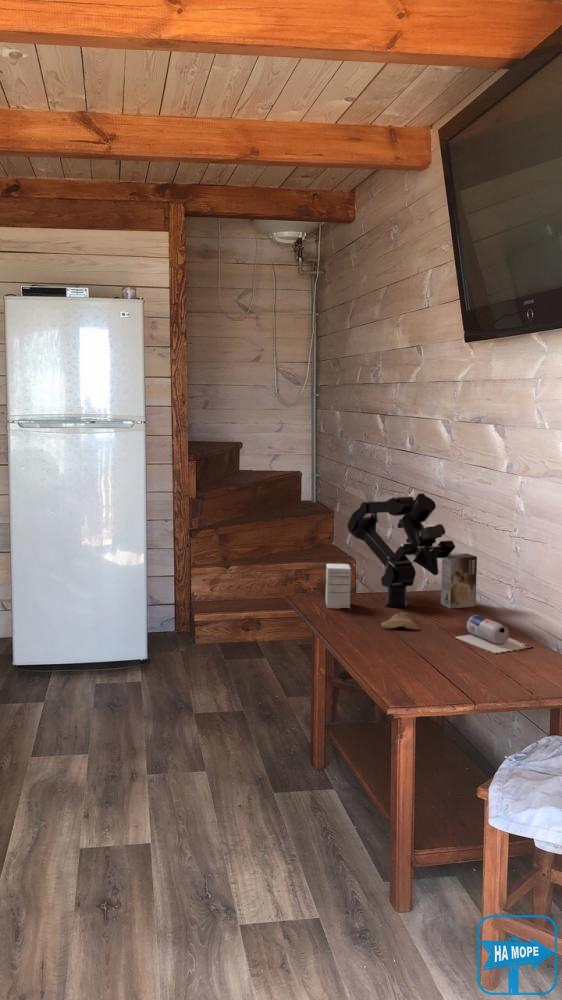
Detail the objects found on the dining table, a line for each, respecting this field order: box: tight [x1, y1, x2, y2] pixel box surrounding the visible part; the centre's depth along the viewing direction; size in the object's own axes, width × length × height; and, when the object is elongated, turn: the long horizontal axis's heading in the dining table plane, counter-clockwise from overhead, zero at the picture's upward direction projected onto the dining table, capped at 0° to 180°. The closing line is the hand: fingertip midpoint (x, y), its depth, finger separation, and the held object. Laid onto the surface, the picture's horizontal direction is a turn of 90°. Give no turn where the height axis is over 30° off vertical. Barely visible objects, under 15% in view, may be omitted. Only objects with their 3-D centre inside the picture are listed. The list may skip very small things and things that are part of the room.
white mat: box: [455, 633, 526, 654], centre depth 232 cm, size 16×13×1 cm
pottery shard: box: [380, 611, 421, 631], centre depth 248 cm, size 11×4×10 cm
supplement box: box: [325, 563, 352, 609], centre depth 269 cm, size 7×7×13 cm
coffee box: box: [440, 553, 478, 609], centre depth 272 cm, size 9×6×16 cm
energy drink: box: [466, 614, 510, 644], centre depth 235 cm, size 5×5×12 cm
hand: (436, 574), depth 253 cm, fingers closed
